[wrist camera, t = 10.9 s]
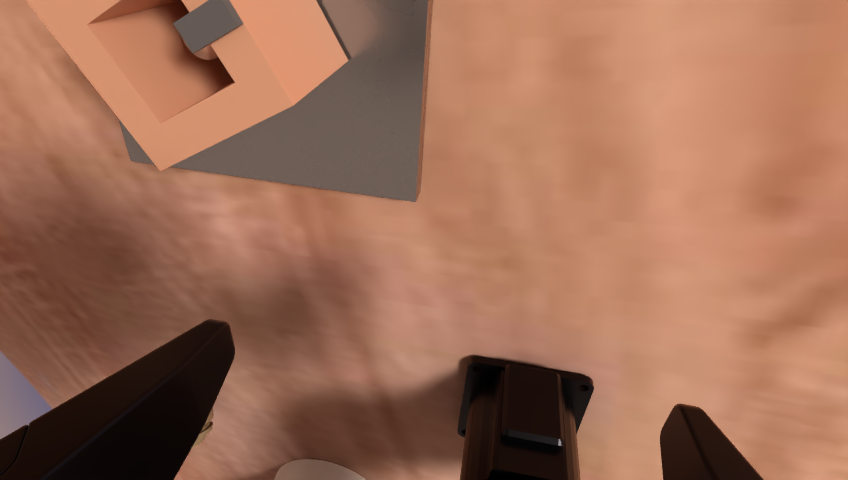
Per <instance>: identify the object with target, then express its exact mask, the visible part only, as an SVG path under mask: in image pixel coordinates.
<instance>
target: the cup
mask: <svg viewBox="0 0 848 480" xmlns="http://www.w3.org/2000/svg"><path fill="white" fill-rule="evenodd" d="M274 480H366V479H365V478H363V477H362V476H360V475H359V474H357V473H356V472H354V471H352V470H350V469H348V468H346V467H343V466H341V465H338V464H335V463H331V462H327V461H322V460H315V459H300V460H294V461H291V462H288V463H286V464H284V465H283V466H282V467H280V469H279V470H278V472H277V474H276V476H275V478H274Z"/></svg>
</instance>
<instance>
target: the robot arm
mask: <svg viewBox="0 0 848 480" xmlns="http://www.w3.org/2000/svg"><path fill="white" fill-rule="evenodd" d="M234 355H235V347H234V342H233V338H232V333H231V329H230V325H229V324H228V323H227V322H224V321H218V320H213V319H209V320H206V321H204V322H202V323H201V324H199V325H197V326H195V327H194V328H192V329H190V330H188V331H187V332H185V333H183V334H182V335H180V336H178V337H176V338H175V339H173V340H171V341H170V342H168V343H166V344H164V345H163V346H161V347H159V348H157V349H156V350H154V351H152V352H151V353H149V354H147V355H145V356H144V357H142V358H140V359H139V360H137V361H135V362H133V363H132V364H130V365H128V366H126V367H125V368H123V369H121V370H120V371H118V372H116V373H114V374H113V375H111V376H109V377H107V378H106V379H104V380H102V381H101V382H99V383H97V384H95V385H94V386H92V387H90V388H89V389H87V390H85V391H83V392H82V393H80V394H78V395H76V396H75V397H73V398H71V399H70V400H68V401H66V402H64V403H63V404H61V405H59V406H58V407H56V408H54V409H52V410H51V411H49V412H47V413H45V414H44V415H42V416H40V417H39V418H37V419H35V420H33V421H32V422H30V424H29V426H28V425H25V426H23V427H21V428H19V429H18V430H16V431H14V432H12V433H11V434H9V435H7V436H6V437H4V438H2V439H0V480H174V478H175V476H176V475H177V473H178V471H179V469H180V468H181V466H182V464H183V462H184V461H185V459H186V457H187V455H188V454H189V452H190V450H191V448H192V447H193V445H194V443H195V441H196V440H197V438H198V436H199V434H200V432H201V431H202V429H203V427H204V425H205V423H206V421H207V419H208V416H209V414H210V412H211V410H212V407H213V405H214V403H215V401H216V398H217V396H218V394H219V391H220V389H221V387H222V385H223V382H224V380H225V378H226V376H227V373H228V371H229V369H230V366H231V364H232V362H233V359H234ZM477 366H480V367H477ZM593 390H594V386H593V381H592V379H591V378H590V377H588V376H584V375H578V374H573V373H567V372H561V371H556V370H550V369H544V368H539V367H533V366H527V365H522V364H516V363H511V362H505V361H499V360H494V359H488V358H482V357H473V358H471V359H470V360H469V363H468V369H467V375H466V381H465V387H464V393H463V400H462V406H461V412H460V418H459V424H458V434H459V435H460V436H462V437H465V443H464V451H463V459H462V467H461V475H460V480H580V470H579V459H578V448H577V436H576V434H577V431H578V429H579V426H580V424H581V421H582V418H583V416H584V413H585V411H586V408H587V406H588V403H589V400H590V398H591V395H592V393H593ZM660 447H661V458H662V469H663V480H764V479H763V478H762V477H761V476H760V475H759V474H758V473H757V471H756V470H755V469H754V468H753V467H752V466H751V465H750V463H749V462H748V461H747V460H746V459H745V458H744V456H743V455H742V454H741V453H740V452H739V451H738V450H737V448H736V447H735V446H734V445H733V444H732V443H731V442H730V440H729V439H728V438H727V437H726V436H725V435H724V434H723V432H722V431H721V430H720V429H719V428H718V427H717V425H716V424H715V423H714V422H713V421H712V420H711V419H710V417H709V416H708V415H707V414H706V413H705V412H704V411H703V410H702V409H701V408H699V407H696V406H691V405H685V404H677V405H675V406H674V408H673V409H672V411H671V413H670V415H669V417H668V418H667V420H666V422H665V424H664V426H663V428H662V430H661V434H660Z"/></svg>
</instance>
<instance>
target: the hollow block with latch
mask: <svg viewBox="0 0 848 480" xmlns="http://www.w3.org/2000/svg"><path fill="white" fill-rule="evenodd" d="M27 3H28V4H29V5H30V6H31V8H32V9H33V10H34V11H35V13H36V14H37V15H38V17H39V18H40V19H41V20H42V22H43V23H44V24H45V25H46V27H47V28H48V29H49V31H50V32H51V33H52V34H53V36H54V37H55V38H56V39H57V41H58V42H59V43H60V45H61V46H62V47H63V48H64V50H65V51H66V52H67V53H68V55H69V56H70V57H71V59H72V60H73V61H74V62H75V64H76V65H77V66H78V67H79V69H80V70H81V71H82V73H83V74H84V75H85V76H86V78H87V79H88V80H89V81H90V83H91V84H92V85H93V87H94V88H95V89H96V90H97V92H98V93H99V94H100V95H101V97H102V98H103V99H104V101H105V102H106V103H107V104H108V106H109V107H110V108H111V109H112V111H113V112H114V113H115V115H116V116H117V117H118V118H119V120H120V121H121V122H122V123H123V125H124V126H125V127H126V129H127V130H128V131H129V132H130V134H131V135H132V136H133V137H134V139H135V140H136V141H137V143H138V144H139V145H140V146H141V148H142V149H143V150H144V151H145V153H146V154H147V155H148V156H149V158H150V159H151V160H152V162H153V163H154V164H155V165H156V167H157V168H158V169H159V170H160V171H162V170H164V169H166V168H168V167H170V166H172V165H174V164H176V163H178V162H180V161H182V160H184V159H186V158H188V157H190V156H192V155H194V154H196V153H198V152H200V151H202V150H204V149H206V148H208V147H210V146H212V145H215V144H217V143H219V142H221V141H223V140H225V139H227V138H229V137H231V136H233V135H235V134H237V133H239V132H241V131H243V130H245V129H247V128H249V127H251V126H253V125H255V124H257V123H259V122H261V121H263V120H265V119H267V118H269V117H271V116H273V115H275V114H277V113H279V112H281V111H283V110H285V109H287V108H289V107H292V106H294V105H295V104H296V103H297V102H298V101H300V100H301V99H302V98H303V97H305V96H306V95H307V94H308V93H309V92H311V91H312V90H313V89H314V88H316V87H317V86H318V85H319V84H320V83H322V82H323V81H324V80H325V79H327V78H328V77H329V76H330V75H332V74H333V73H334V72H335V71H336V70H338V69H339V68H340V67H341V66H343V65H344V64H345V63H346V62H347V61H348V59H347V57H346V55H345V53H344V51H343V50H342V48H341V46H340V44H339V42H338V40H337V38H336V36H335V35H334V33H333V31H332V29H331V27H330V25H329V23H328V21H327V20H326V18H325V16H324V14H323V12H322V10H321V8H320V6H319V4H318V3H317V1H316V0H27ZM182 38H183V39H184V41H185V42H186V44H187V45H188V46H189V48H190V49H191V51H192V52H193V53H195V52H197V51H199V50H201V49H203V48H204V47H206V46H208V45H209V44H210V45H211V46H212V48H213V49H214V51H215V53H216V54H217V56H218V57H217V58H215V59H212V60H205V59H201V58H199V57H197V56H196V55H194V54H193V53H192V52H191V51H190V50H189V49H188V48H187V46H186V45H185V43H184V41H183V39H182Z"/></svg>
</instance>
